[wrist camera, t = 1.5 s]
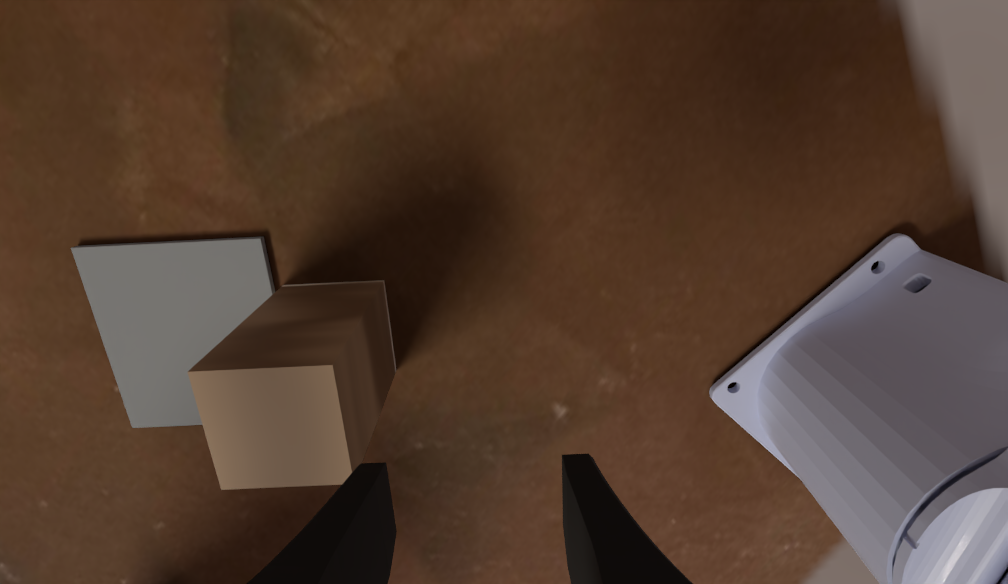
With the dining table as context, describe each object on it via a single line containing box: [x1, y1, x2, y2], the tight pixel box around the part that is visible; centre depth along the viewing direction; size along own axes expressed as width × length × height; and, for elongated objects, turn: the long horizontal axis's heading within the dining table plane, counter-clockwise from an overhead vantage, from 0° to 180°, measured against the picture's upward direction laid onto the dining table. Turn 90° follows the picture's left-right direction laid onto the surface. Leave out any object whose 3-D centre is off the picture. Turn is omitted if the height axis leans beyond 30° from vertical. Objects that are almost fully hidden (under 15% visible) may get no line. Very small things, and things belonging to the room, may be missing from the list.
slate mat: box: [71, 237, 275, 428], centre depth 22 cm, size 7×8×1 cm
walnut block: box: [188, 280, 396, 490], centre depth 19 cm, size 4×4×7 cm
